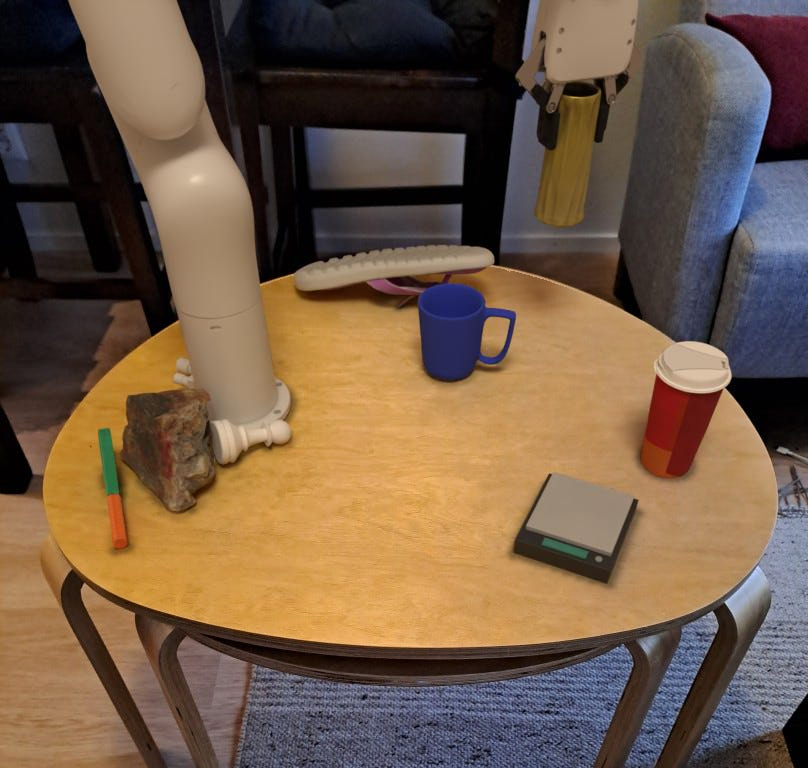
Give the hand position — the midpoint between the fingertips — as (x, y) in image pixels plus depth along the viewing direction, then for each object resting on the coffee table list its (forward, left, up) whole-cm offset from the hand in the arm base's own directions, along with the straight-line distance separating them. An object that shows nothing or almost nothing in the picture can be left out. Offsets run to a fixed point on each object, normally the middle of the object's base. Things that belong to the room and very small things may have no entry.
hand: (570, 140), depth 92 cm
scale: (+15, -34, -25) cm, 45 cm away
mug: (-7, -12, -26) cm, 29 cm away
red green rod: (-32, -50, -23) cm, 64 cm away
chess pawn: (-26, -41, -23) cm, 53 cm away
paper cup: (+21, -19, -26) cm, 38 cm away
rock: (-26, -42, -25) cm, 56 cm away
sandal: (-23, 0, -19) cm, 30 cm away
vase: (0, 0, -9) cm, 9 cm away
